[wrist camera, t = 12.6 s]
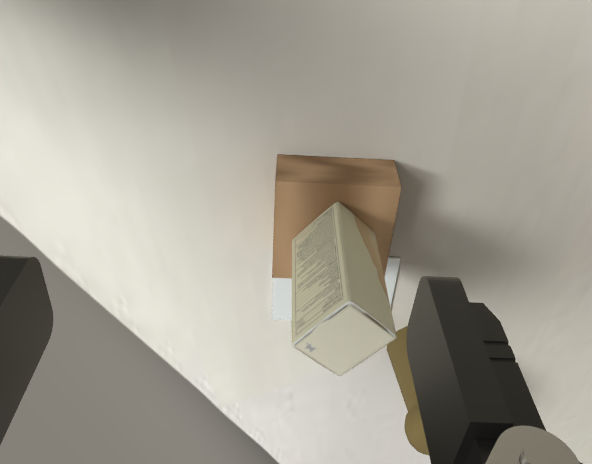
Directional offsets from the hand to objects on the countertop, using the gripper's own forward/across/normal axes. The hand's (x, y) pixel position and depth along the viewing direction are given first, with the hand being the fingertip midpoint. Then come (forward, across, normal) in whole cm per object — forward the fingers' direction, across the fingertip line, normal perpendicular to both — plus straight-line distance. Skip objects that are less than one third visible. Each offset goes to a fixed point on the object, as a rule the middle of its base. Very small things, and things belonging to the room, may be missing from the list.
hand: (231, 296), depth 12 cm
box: (+25, -6, +17) cm, 31 cm away
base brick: (+29, -6, +17) cm, 34 cm away
